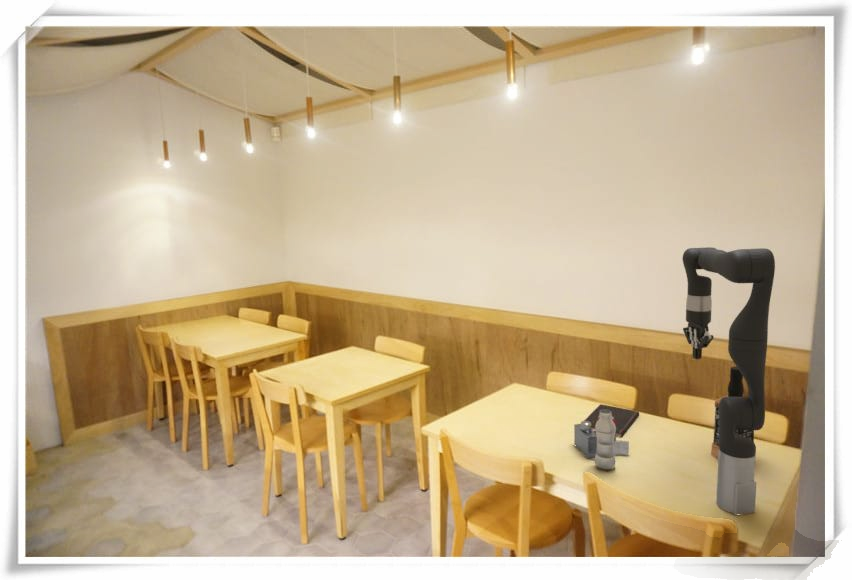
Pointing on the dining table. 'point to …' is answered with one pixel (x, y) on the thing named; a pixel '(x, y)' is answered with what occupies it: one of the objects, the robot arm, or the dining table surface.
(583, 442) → the motor housing
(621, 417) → the hardcover book
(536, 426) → the dining table surface
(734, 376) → the whiskey bottle
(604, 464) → the plastic bottle
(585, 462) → the dining table surface
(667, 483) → the dining table surface
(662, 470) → the dining table surface
